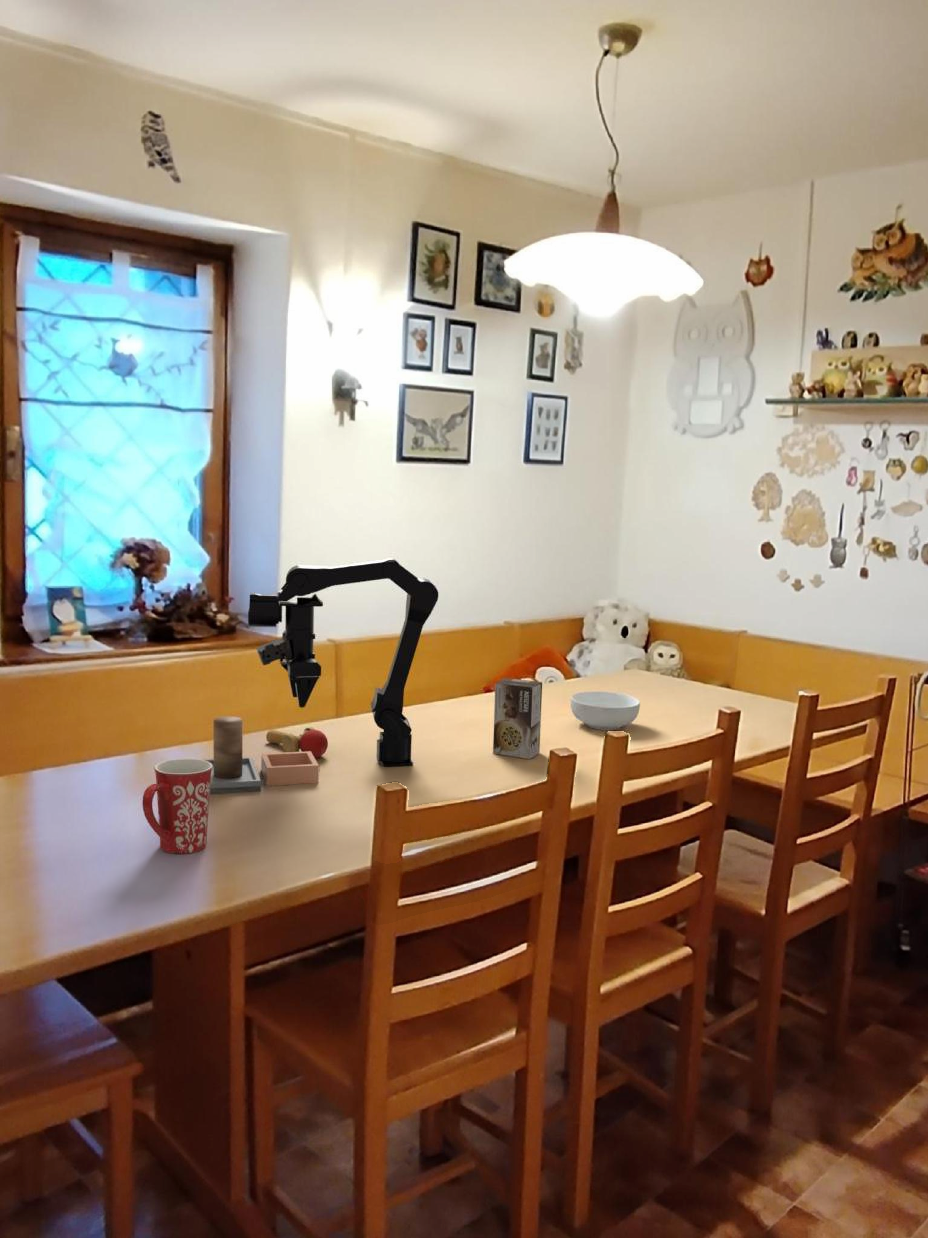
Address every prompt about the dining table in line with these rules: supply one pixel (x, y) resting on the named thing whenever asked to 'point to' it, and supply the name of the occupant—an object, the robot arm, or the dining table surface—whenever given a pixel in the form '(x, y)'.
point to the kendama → (300, 741)
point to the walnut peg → (228, 747)
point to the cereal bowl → (604, 709)
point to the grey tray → (237, 779)
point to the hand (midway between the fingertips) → (298, 702)
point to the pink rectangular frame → (289, 768)
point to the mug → (180, 804)
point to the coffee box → (517, 718)
